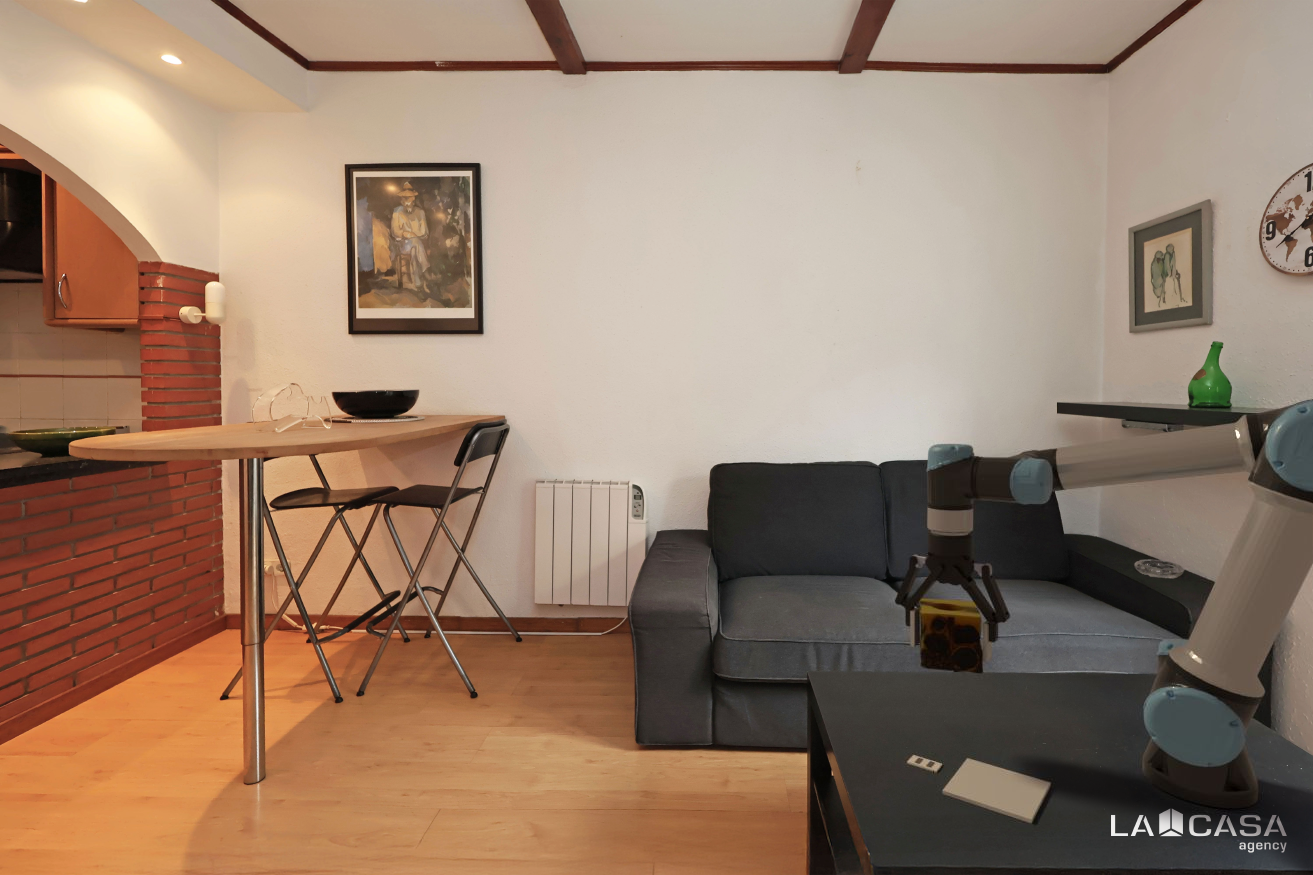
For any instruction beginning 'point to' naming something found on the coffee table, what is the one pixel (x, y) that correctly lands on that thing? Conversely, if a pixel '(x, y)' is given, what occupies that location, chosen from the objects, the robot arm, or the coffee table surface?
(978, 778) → the coaster
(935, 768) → the tag
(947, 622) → the candle
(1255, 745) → the coffee table surface
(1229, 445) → the robot arm
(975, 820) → the coffee table surface
